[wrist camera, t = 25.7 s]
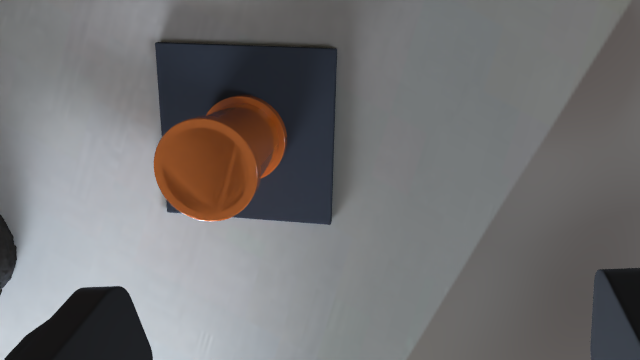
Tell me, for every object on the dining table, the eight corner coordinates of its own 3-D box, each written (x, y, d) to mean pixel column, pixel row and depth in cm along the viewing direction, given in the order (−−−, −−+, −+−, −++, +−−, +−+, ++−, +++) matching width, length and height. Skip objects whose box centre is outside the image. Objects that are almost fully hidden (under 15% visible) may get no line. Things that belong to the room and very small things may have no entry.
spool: (259, 79, 35) (221, 98, 27) (302, 156, 36) (277, 195, 28) (188, 118, 36) (133, 148, 29) (231, 191, 37) (189, 237, 30)
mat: (337, 48, 34) (336, 49, 33) (331, 222, 38) (330, 225, 37) (158, 42, 35) (154, 42, 35) (169, 209, 39) (166, 212, 39)
